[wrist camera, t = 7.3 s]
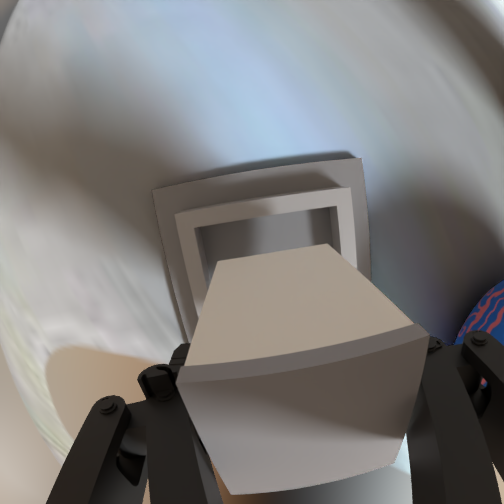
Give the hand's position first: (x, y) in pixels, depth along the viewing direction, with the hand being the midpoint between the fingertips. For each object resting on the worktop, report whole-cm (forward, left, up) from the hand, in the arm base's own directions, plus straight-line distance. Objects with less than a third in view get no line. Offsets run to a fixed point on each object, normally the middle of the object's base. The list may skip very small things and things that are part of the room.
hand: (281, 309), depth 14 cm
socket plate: (0, 0, -6) cm, 6 cm away
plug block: (0, 0, 0) cm, 0 cm away
